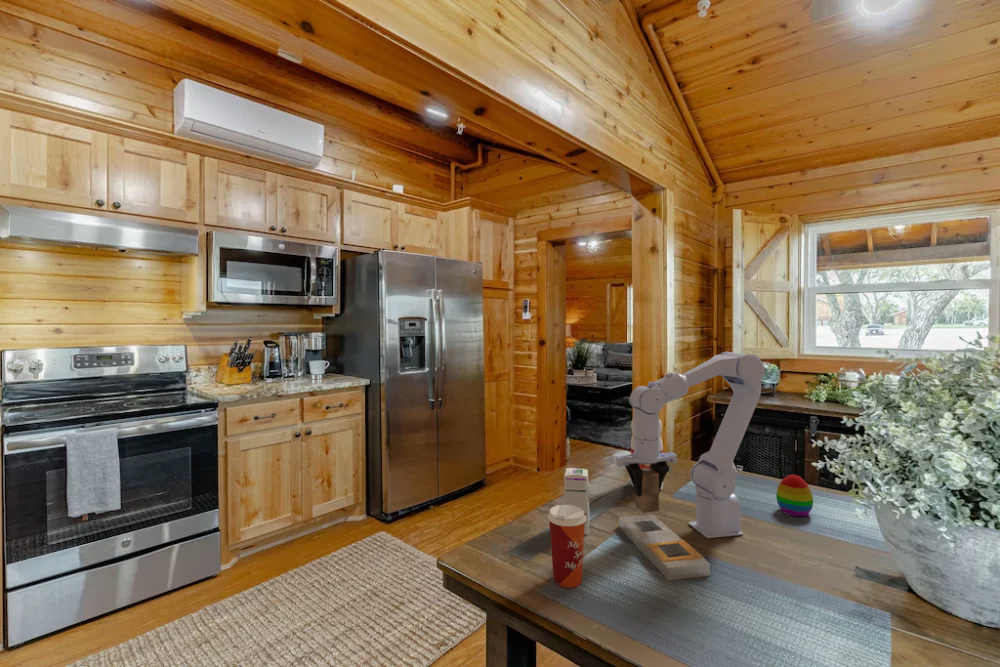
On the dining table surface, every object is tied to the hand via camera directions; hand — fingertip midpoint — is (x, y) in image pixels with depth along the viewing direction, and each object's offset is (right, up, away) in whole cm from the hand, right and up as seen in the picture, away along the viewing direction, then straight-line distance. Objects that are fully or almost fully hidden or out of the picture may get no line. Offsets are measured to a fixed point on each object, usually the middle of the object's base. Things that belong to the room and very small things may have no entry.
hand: (646, 494), depth 110 cm
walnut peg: (0, -4, 0) cm, 3 cm away
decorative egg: (+43, -9, +12) cm, 46 cm away
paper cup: (-21, -11, -17) cm, 30 cm away
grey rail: (+1, -10, -6) cm, 12 cm away
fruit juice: (+10, -9, +32) cm, 35 cm away
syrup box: (-16, -11, +5) cm, 20 cm away
